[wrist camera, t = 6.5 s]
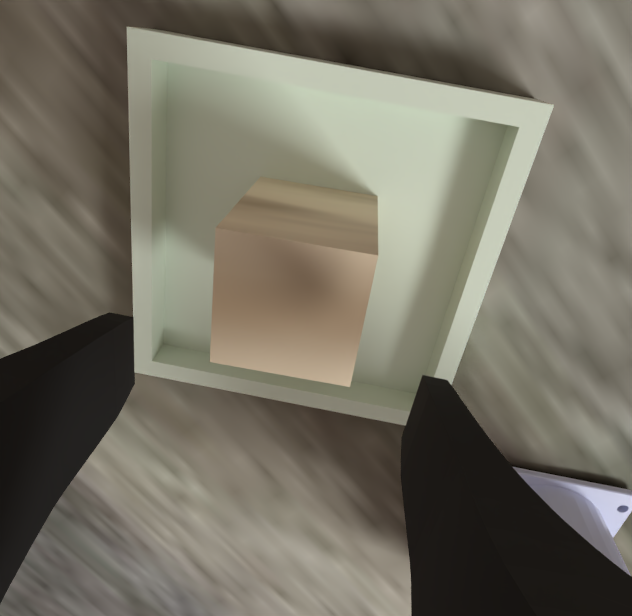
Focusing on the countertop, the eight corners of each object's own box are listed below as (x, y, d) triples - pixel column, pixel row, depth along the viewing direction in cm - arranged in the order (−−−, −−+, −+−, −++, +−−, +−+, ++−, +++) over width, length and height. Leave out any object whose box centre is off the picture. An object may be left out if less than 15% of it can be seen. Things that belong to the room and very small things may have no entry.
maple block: (356, 300, 21) (350, 386, 16) (251, 282, 21) (209, 362, 16) (377, 196, 19) (378, 255, 13) (260, 176, 19) (215, 227, 13)
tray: (430, 402, 24) (434, 431, 22) (152, 348, 24) (134, 372, 22) (535, 98, 17) (554, 104, 15) (151, 28, 17) (126, 26, 16)
